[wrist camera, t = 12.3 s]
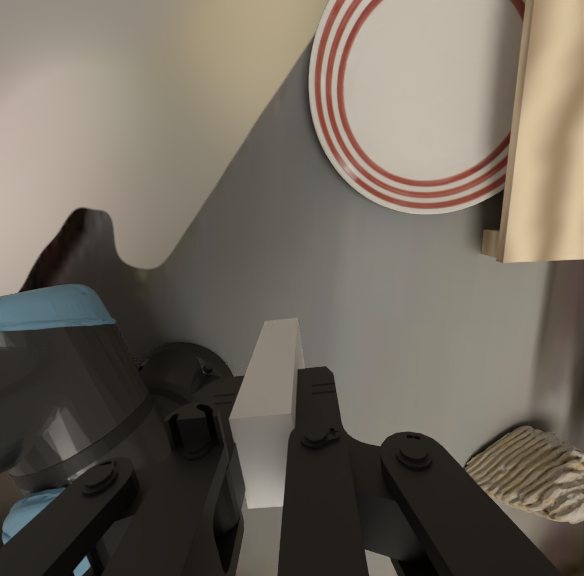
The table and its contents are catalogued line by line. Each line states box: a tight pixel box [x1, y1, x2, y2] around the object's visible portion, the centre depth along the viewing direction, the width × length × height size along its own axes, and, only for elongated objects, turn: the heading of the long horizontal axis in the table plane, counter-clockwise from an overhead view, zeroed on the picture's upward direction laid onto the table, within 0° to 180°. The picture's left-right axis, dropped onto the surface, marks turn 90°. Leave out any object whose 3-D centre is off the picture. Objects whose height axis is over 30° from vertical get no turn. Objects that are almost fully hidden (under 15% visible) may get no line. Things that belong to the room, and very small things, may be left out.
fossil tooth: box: [465, 426, 584, 524], centre depth 40 cm, size 12×6×15 cm
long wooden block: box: [481, 0, 584, 263], centre depth 30 cm, size 10×37×6 cm, turn 4°
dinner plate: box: [309, 0, 526, 214], centre depth 32 cm, size 27×27×3 cm
